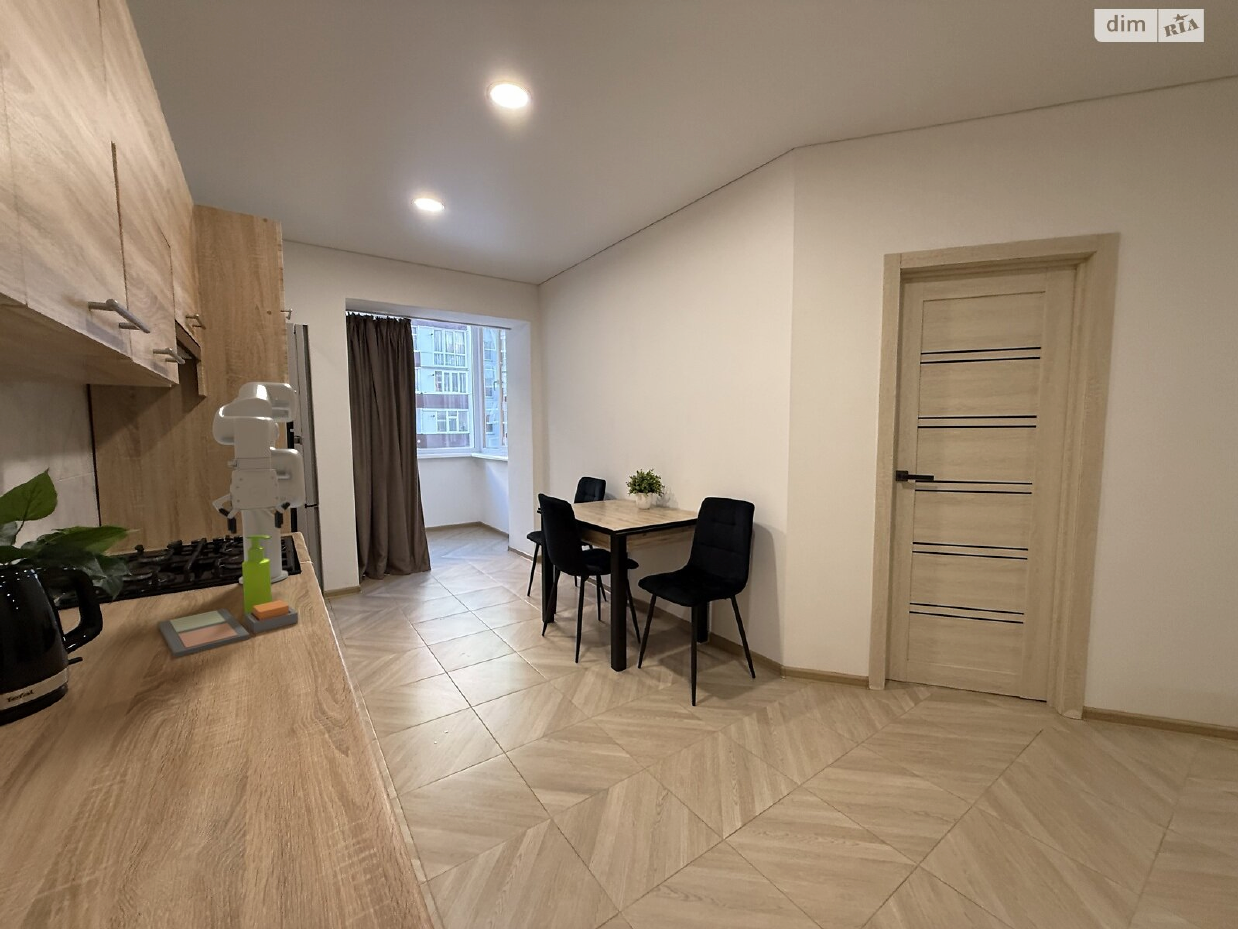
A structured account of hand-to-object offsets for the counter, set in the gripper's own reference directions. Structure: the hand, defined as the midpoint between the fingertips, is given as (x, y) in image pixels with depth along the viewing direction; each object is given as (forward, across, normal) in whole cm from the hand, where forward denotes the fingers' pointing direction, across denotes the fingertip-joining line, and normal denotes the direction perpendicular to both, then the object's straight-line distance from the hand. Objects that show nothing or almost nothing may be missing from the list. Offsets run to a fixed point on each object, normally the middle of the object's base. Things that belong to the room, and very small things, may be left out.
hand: (256, 530), depth 131 cm
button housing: (+22, 0, -11) cm, 24 cm away
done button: (+19, 0, -11) cm, 22 cm away
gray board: (+22, -13, -6) cm, 26 cm away
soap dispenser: (+22, 0, +1) cm, 22 cm away
